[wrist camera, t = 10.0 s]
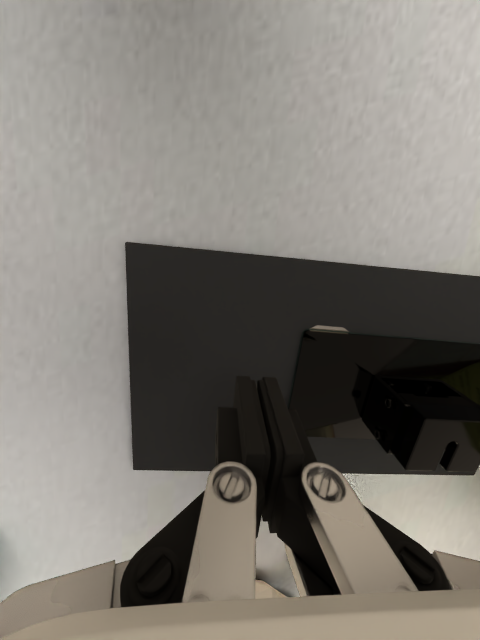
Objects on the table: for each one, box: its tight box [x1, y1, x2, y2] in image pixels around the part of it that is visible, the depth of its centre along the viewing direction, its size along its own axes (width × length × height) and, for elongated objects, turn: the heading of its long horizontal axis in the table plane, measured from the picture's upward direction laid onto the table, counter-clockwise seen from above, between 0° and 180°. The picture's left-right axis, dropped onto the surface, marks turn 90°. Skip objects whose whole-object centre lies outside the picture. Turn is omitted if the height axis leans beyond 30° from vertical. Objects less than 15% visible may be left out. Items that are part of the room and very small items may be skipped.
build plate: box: [288, 325, 480, 472], centre depth 14 cm, size 12×7×5 cm, turn 84°
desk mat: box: [125, 242, 480, 475], centre depth 16 cm, size 14×24×1 cm, turn 84°
